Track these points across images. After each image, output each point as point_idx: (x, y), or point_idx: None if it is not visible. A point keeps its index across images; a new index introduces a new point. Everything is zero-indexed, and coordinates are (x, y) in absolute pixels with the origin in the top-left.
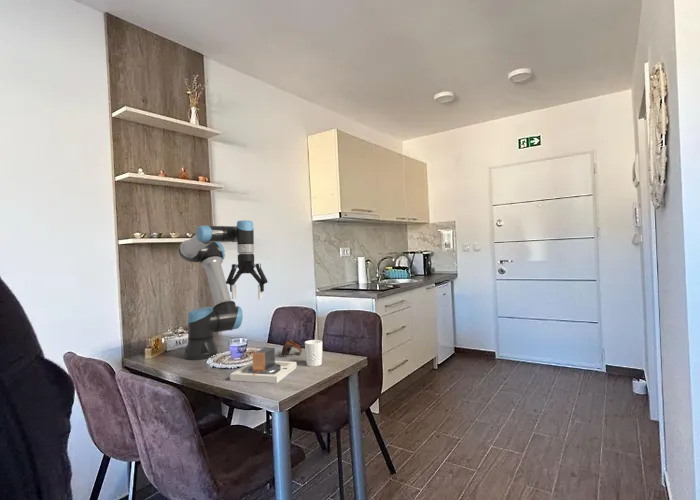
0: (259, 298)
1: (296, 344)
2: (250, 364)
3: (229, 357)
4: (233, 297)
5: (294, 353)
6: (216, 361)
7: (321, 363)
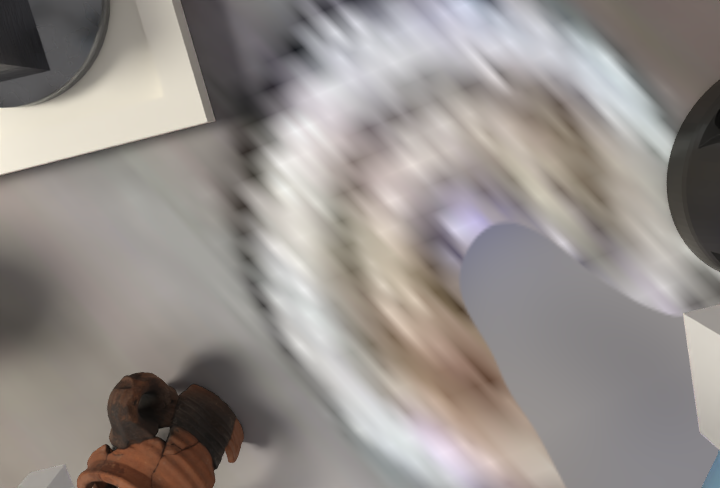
0: (30, 481)
1: (84, 471)
2: (144, 15)
3: (540, 217)
4: (706, 336)
5: None
6: (557, 100)
7: None
